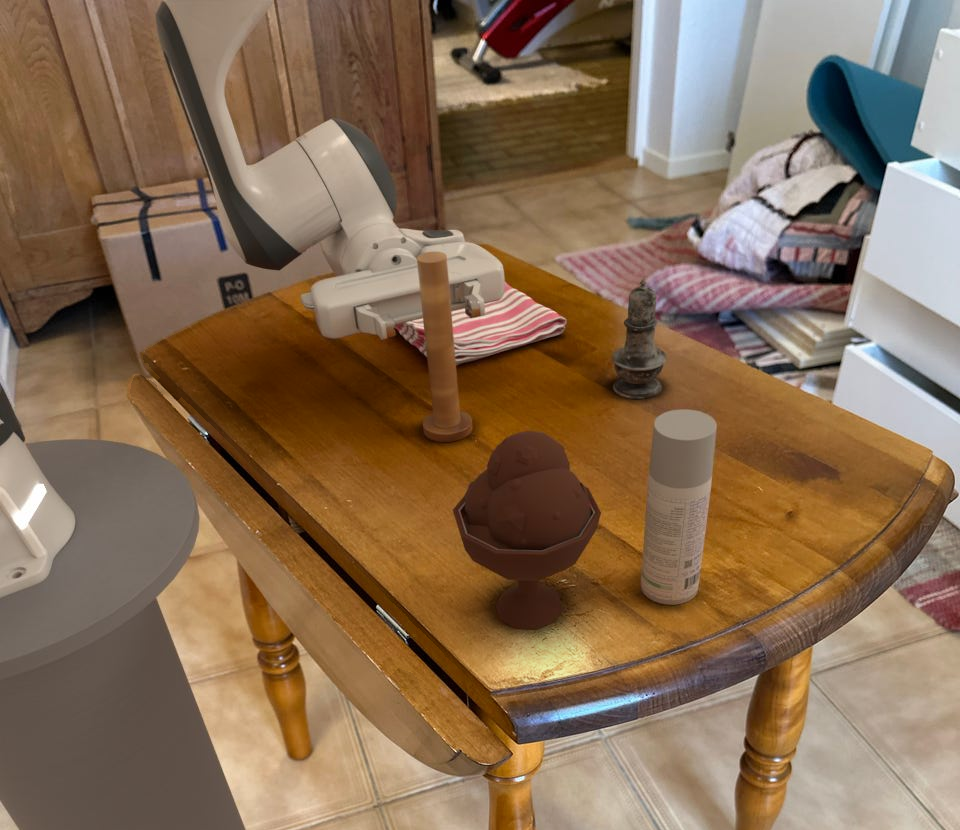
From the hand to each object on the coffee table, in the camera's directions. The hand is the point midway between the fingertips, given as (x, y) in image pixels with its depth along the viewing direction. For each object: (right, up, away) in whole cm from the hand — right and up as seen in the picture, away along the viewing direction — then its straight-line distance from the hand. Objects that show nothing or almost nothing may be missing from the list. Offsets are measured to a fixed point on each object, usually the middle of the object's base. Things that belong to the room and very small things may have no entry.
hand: (434, 320), depth 91 cm
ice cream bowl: (+9, -29, -15) cm, 34 cm away
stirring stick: (+1, -9, +7) cm, 12 cm away
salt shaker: (+22, -4, +11) cm, 25 cm away
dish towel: (+3, +9, +27) cm, 28 cm away
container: (+20, -27, -14) cm, 37 cm away
